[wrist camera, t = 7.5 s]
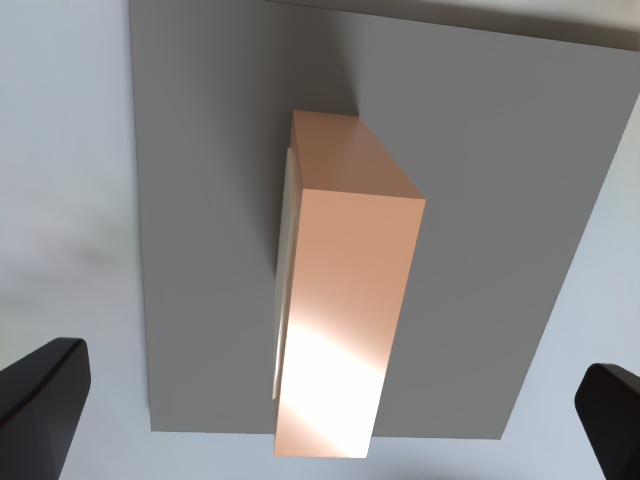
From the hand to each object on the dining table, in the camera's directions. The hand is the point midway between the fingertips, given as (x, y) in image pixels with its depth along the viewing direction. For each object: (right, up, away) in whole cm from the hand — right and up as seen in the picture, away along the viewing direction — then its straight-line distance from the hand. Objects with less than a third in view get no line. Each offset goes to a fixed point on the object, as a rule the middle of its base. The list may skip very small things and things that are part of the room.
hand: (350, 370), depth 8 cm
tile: (-1, +3, +7) cm, 8 cm away
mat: (+1, +1, +9) cm, 9 cm away
